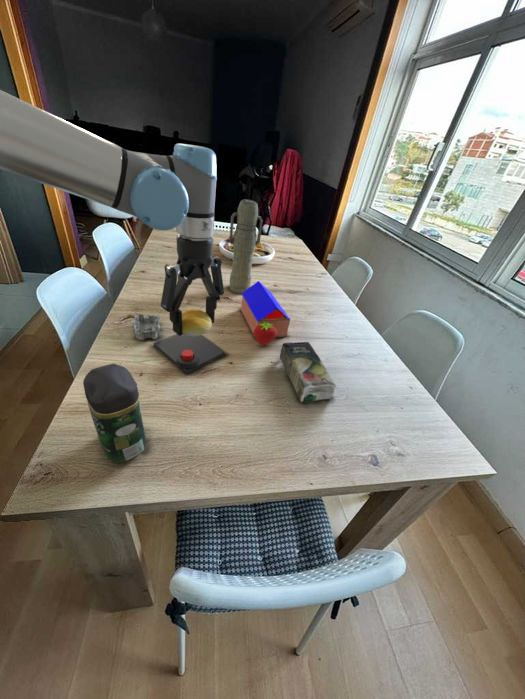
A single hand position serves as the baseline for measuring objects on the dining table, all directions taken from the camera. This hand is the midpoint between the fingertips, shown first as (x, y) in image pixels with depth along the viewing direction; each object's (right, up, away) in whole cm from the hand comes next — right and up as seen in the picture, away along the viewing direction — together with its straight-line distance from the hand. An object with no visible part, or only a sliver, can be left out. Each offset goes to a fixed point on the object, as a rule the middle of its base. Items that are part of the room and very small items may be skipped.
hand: (194, 326), depth 74 cm
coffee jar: (-11, -25, -14) cm, 31 cm away
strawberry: (+17, -5, +21) cm, 28 cm away
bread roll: (0, 0, 0) cm, 0 cm away
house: (+17, +4, +33) cm, 38 cm away
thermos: (+7, +20, +53) cm, 57 cm away
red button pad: (-5, -6, +14) cm, 16 cm away
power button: (-4, -8, +7) cm, 11 cm away
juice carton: (+29, -14, +12) cm, 35 cm away
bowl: (+8, +46, +87) cm, 99 cm away
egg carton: (-19, 0, +19) cm, 27 cm away
